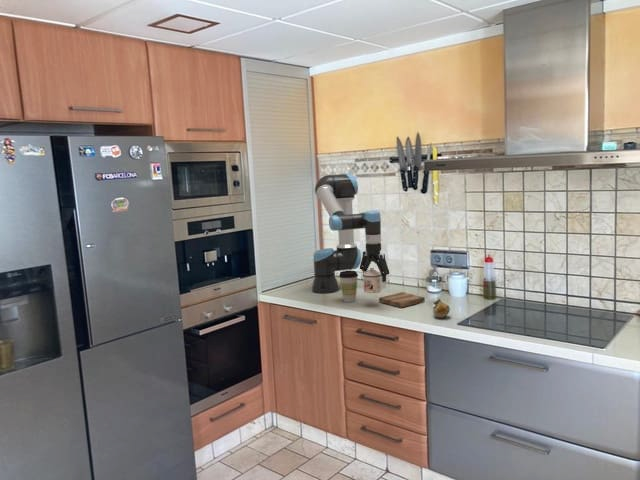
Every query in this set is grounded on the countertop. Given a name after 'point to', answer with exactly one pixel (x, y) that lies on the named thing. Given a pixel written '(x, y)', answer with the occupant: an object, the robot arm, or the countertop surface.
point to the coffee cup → (348, 285)
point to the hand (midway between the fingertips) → (374, 286)
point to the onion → (440, 309)
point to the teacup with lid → (372, 281)
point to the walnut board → (401, 299)
